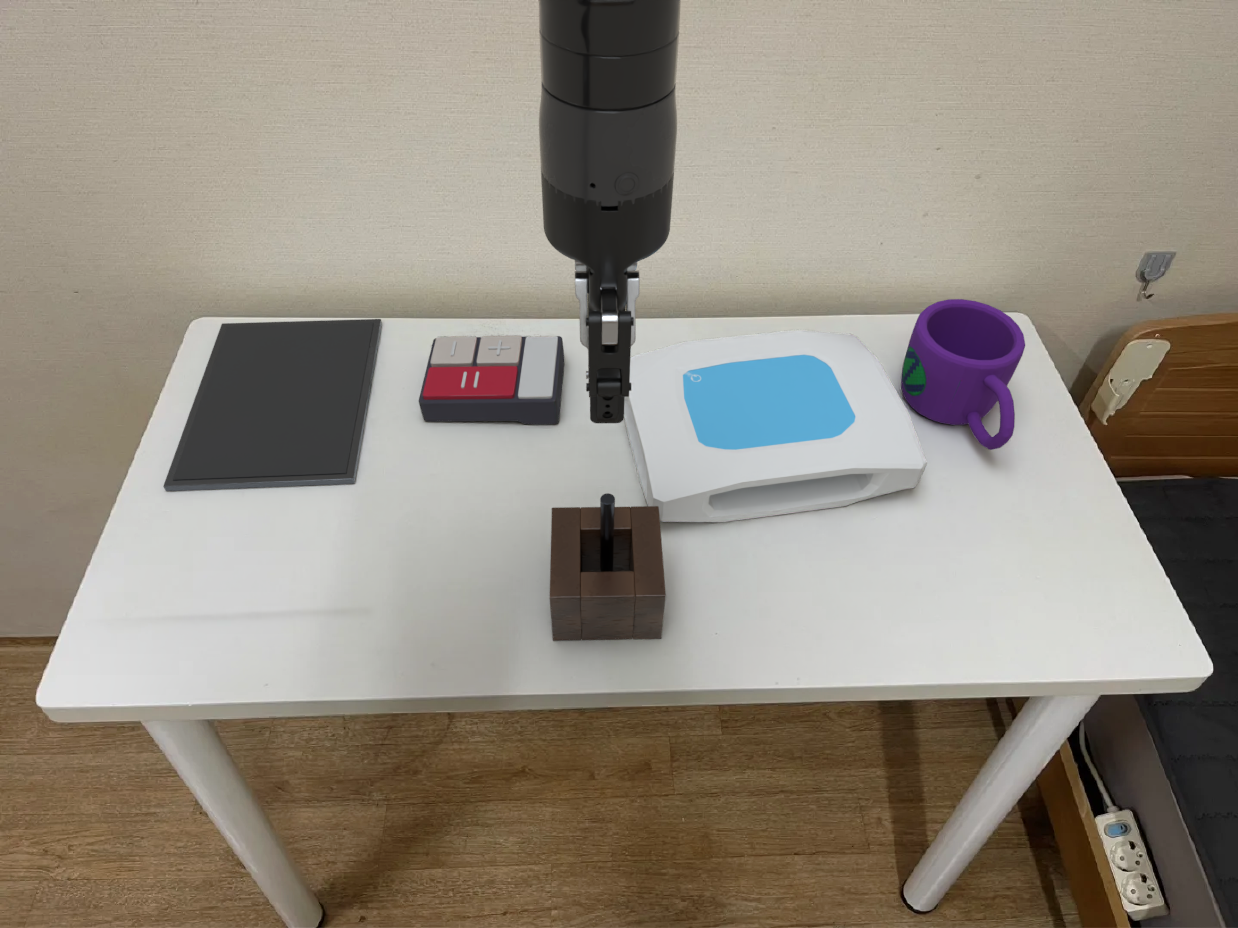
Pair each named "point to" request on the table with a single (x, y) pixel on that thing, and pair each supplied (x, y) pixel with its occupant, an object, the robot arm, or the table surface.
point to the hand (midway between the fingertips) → (605, 376)
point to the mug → (963, 366)
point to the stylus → (607, 532)
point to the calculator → (494, 379)
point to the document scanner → (766, 426)
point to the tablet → (279, 406)
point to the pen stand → (606, 576)
